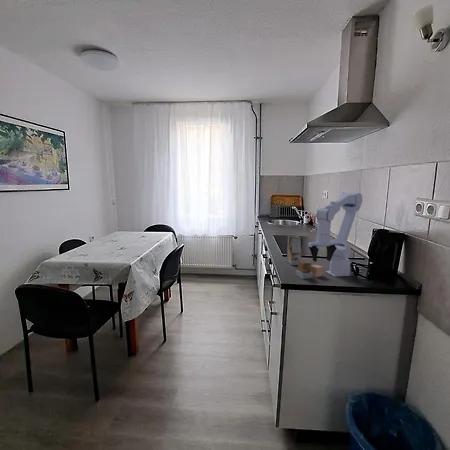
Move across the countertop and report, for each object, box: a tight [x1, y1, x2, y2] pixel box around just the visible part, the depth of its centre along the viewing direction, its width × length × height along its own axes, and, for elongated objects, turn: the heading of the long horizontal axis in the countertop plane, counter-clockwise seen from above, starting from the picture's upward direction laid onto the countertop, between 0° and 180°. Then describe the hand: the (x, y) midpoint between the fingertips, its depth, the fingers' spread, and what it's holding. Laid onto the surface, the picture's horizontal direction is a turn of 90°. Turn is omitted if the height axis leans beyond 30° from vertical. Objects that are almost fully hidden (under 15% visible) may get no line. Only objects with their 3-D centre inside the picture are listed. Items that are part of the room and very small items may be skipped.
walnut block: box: [297, 260, 312, 273], centre depth 136 cm, size 4×4×5 cm
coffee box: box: [286, 235, 304, 266], centre depth 160 cm, size 9×6×16 cm
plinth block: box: [295, 269, 314, 280], centre depth 137 cm, size 6×6×3 cm
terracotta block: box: [311, 264, 324, 278], centre depth 139 cm, size 4×4×5 cm
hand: (321, 260), depth 130 cm, fingers open, 7 cm apart
